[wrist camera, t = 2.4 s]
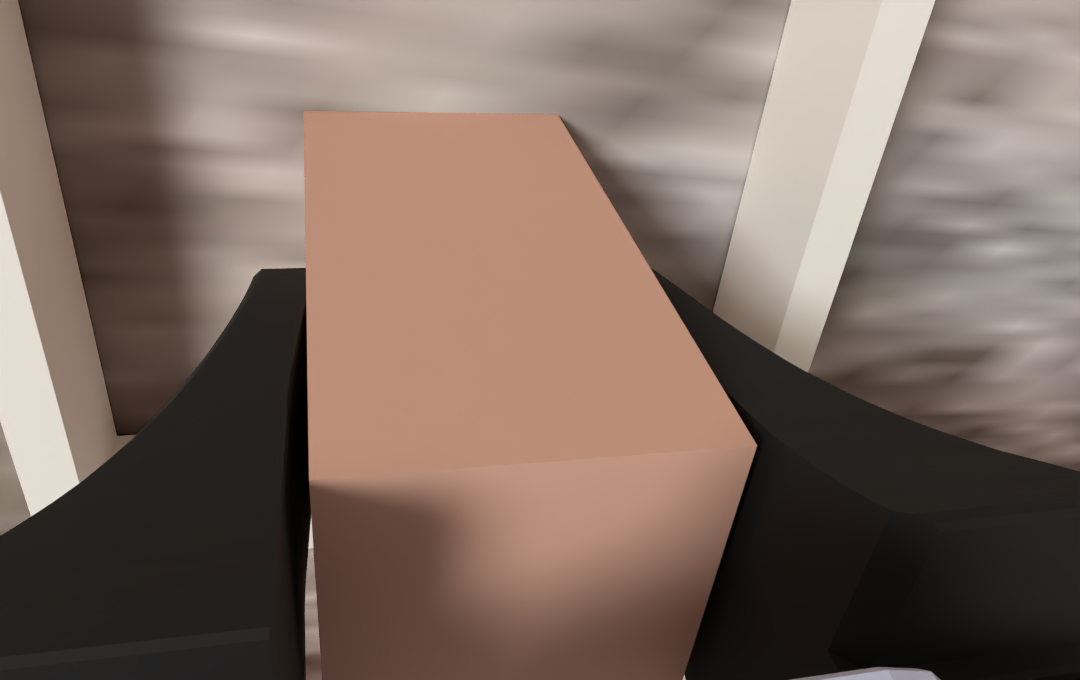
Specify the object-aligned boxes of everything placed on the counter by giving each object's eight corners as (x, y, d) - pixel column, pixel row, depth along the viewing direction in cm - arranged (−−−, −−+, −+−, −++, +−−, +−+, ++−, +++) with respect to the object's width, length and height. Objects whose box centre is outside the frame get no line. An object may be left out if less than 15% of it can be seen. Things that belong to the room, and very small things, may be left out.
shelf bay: (77, 471, 17) (49, 572, 15) (-117, -249, 10) (-211, -234, 8) (717, 425, 20) (762, 505, 18) (880, -155, 13) (979, -128, 11)
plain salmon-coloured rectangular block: (314, 327, 16) (327, 750, 10) (303, 111, 14) (308, 480, 7) (534, 318, 17) (676, 698, 11) (558, 114, 15) (756, 445, 8)
